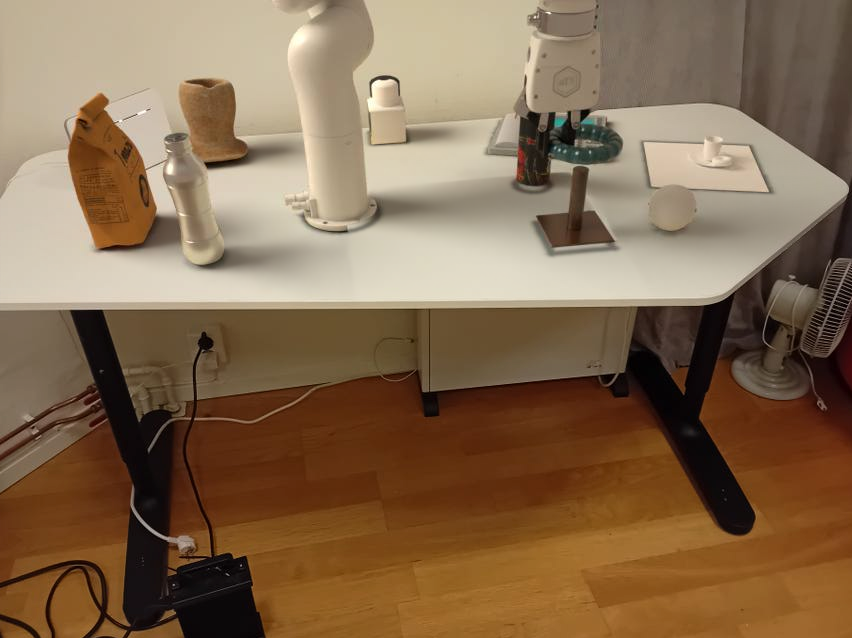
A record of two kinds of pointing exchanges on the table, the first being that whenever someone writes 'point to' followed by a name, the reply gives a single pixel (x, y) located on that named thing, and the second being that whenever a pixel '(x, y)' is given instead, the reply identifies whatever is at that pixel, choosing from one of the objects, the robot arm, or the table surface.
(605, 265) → the table surface
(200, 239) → the plastic bottle
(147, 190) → the coffee package
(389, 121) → the medicine bottle
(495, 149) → the office telephone
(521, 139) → the deodorant
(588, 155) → the ring
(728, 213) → the table surface
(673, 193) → the beige ovoid
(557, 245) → the post
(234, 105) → the tan upright hollow piece
